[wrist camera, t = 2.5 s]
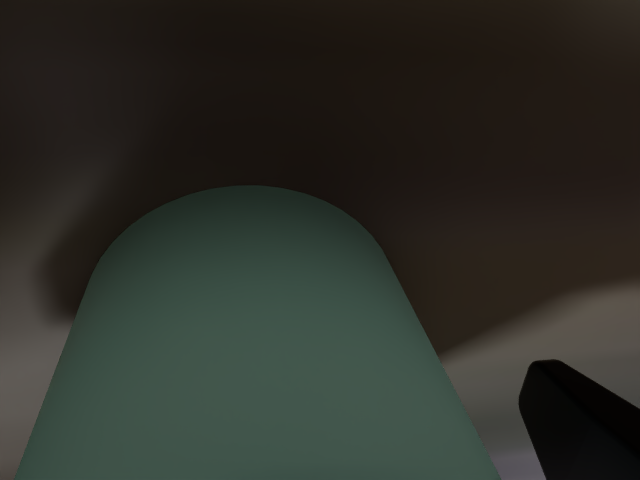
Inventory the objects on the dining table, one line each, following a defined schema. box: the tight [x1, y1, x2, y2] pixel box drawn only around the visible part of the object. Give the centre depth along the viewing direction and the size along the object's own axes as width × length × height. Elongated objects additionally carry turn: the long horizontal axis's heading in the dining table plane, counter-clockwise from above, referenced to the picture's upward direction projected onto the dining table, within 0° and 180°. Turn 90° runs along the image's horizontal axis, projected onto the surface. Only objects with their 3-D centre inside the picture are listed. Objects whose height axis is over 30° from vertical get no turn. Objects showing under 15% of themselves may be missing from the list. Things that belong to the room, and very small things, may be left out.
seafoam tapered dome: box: [14, 185, 501, 480], centre depth 7 cm, size 6×6×5 cm
